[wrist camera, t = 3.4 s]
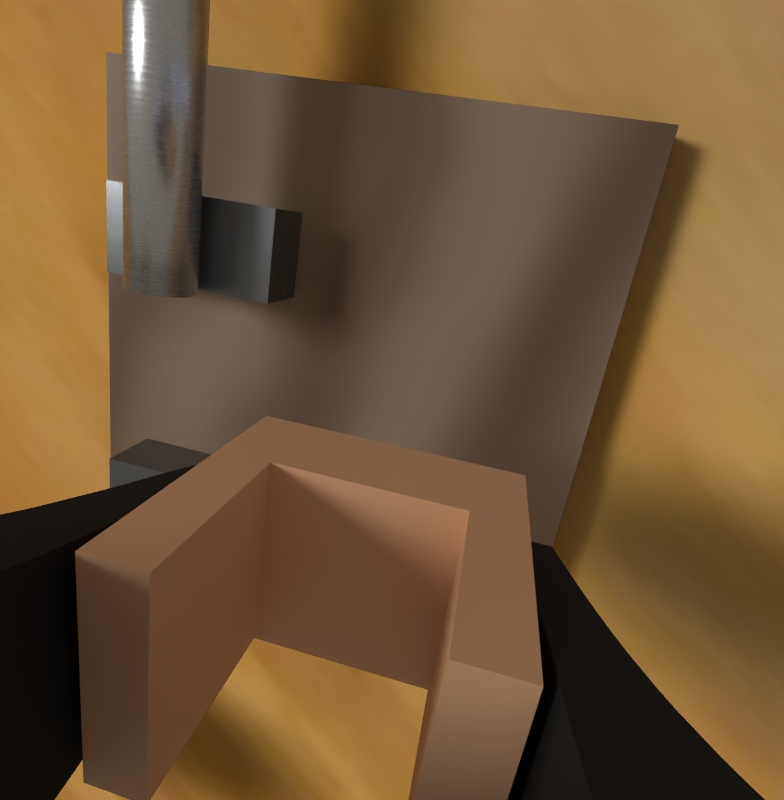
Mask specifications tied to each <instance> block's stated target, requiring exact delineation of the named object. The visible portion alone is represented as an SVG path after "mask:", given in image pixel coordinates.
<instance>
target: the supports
mask: <svg viewBox="0 0 784 800" xmlns="http://www.w3.org/2000/svg"><path fill="white" fill-rule="evenodd" d="M106 185H107V272H110V273H115V274H120V275H123V183H122V182H116V181H110V180H106ZM301 222H302V213H301V212H295V211H289V210H283V209H277V208H271V207H265V206H259V205H253V204H247V203H241V202H235V201H229V200H223V199H217V198H211V197H206V196H202V206H201V230H200V254H199V277H198V290H201V291H206V292H211V293H216V294H221V295H226V296H231V297H236V298H241V299H246V300H251V301H256V302H261V303H266V304H269V303H273V302H277V301H281V300H285V299H289V298H293V297H294V292H295V282H296V272H297V262H298V252H299V242H300V232H301ZM210 455H212V454H208V453H204V452H200V451H196V450H192V449H188V448H184V447H180V446H176V445H172V444H168V443H164V442H160V441H156V440H152V439H148V438H147V439H145V440H143V441H141V442H140V443H138V444H136V445H134V446H132V447H130V448H128V449H126V450H125V451H123V452H121V453H119V454H117V455H115V456H113V457H111V458H110V488H113V487H116V486H120V485H124V484H127V483H131V482H134V481H138V480H141V479H145V478H148V477H152V476H155V475H159V474H163V473H166V472H170V471H173V470H177V469H181V468H185V467H189V466H193V465H197V464H199V463H200V462H202V461H203V460H205V459H206V458H208V457H209V456H210Z"/></svg>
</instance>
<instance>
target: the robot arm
mask: <svg viewBox="0 0 784 800" xmlns="http://www.w3.org/2000/svg"><path fill="white" fill-rule="evenodd" d="M197 465H198V464H197ZM195 466H196V465H193V466H189V467H185V468H181V469H177V470H173V471H170V472H166V473H163V474H159V475H155V476H152V477H148V478H145V479H141V480H138V481H134V482H131V483H127V484H124V485H120V486H116V487H113V488H109V489H106V490H102V491H98V492H94V493H90V494H86V495H82V496H78V497H74V498H70V499H66V500H62V501H58V502H54V503H50V504H46V505H42V506H38V507H34V508H30V509H25V510H21V511H16V512H11V513H6V514H1V515H0V800H55V798H56V797H57V795H58V794H59V792H60V791H61V790H62V788H63V787H64V785H65V784H66V782H67V781H68V780H69V778H70V777H71V775H72V774H73V772H74V771H75V770H76V768H77V767H78V765H79V764H80V762H81V761H82V760H83V751H82V725H81V698H80V671H79V645H78V618H77V591H76V565H75V551H76V550H78V549H79V548H80V547H82V546H83V545H85V544H86V543H88V542H89V541H90V540H92V539H93V538H95V537H96V536H97V535H99V534H100V533H102V532H103V531H104V530H106V529H107V528H109V527H110V526H112V525H113V524H114V523H116V522H117V521H119V520H120V519H121V518H123V517H124V516H126V515H127V514H128V513H130V512H131V511H133V510H134V509H136V508H137V507H138V506H140V505H141V504H143V503H144V502H145V501H147V500H148V499H150V498H151V497H152V496H154V495H155V494H157V493H158V492H160V491H161V490H162V489H164V488H165V487H167V486H168V485H169V484H171V483H172V482H174V481H175V480H176V479H178V478H179V477H181V476H182V475H184V474H185V473H186V472H188V471H189V470H191V469H192V468H193V467H195ZM531 546H532V558H533V569H534V581H535V593H536V604H537V616H538V628H539V639H540V651H541V663H542V674H543V686H544V687H543V690H542V693H541V696H540V699H539V702H538V706H537V709H536V712H535V715H534V718H533V721H532V724H531V727H530V731H529V734H528V737H527V740H526V743H525V746H524V749H523V752H522V756H521V759H520V762H519V765H518V768H517V771H516V774H515V777H514V781H513V784H512V787H511V790H510V793H509V796H508V799H507V800H765V799H764V798H763V797H762V796H760V795H759V794H758V793H757V792H756V791H755V790H754V789H753V788H752V787H751V786H750V785H749V784H748V783H747V782H746V781H745V780H744V779H743V778H742V777H741V776H740V775H739V774H738V773H737V772H735V771H734V770H733V769H732V768H731V767H730V766H729V765H728V764H727V763H726V762H725V761H724V760H723V759H722V758H721V757H720V756H719V755H718V754H717V753H716V751H715V750H714V749H713V748H712V747H711V746H710V745H709V744H708V743H707V742H706V741H705V740H704V739H703V738H702V737H701V736H700V735H699V734H698V733H697V731H696V730H695V729H694V728H693V727H692V726H691V725H690V724H689V723H688V722H687V721H686V720H685V719H684V718H683V717H682V716H681V715H680V714H679V712H678V711H677V710H676V709H675V708H674V707H673V706H672V705H671V704H670V702H669V701H668V700H667V699H666V698H665V697H664V696H663V695H662V693H661V692H660V691H659V690H658V689H657V688H656V687H655V685H654V684H653V683H652V682H651V681H650V679H649V678H648V677H647V676H646V675H645V673H644V672H643V671H642V670H641V668H640V667H639V666H638V665H637V664H636V662H635V661H634V660H633V659H632V658H631V656H630V655H629V654H628V653H627V651H626V650H625V649H624V648H623V646H622V645H621V644H620V642H619V641H618V640H617V639H616V637H615V636H614V635H613V633H612V632H611V631H610V629H609V628H608V627H607V625H606V624H605V623H604V621H603V620H602V619H601V617H600V616H599V615H598V613H597V612H596V610H595V609H594V608H593V606H592V605H591V603H590V602H589V601H588V599H587V598H586V596H585V595H584V594H583V592H582V591H581V589H580V588H579V586H578V585H577V583H576V582H575V580H574V579H573V577H572V576H571V574H570V573H569V572H568V570H567V569H566V567H565V566H564V564H563V563H562V561H561V560H560V558H559V557H558V555H557V554H556V552H555V551H554V549H553V548H552V547H551V546H548V545H544V544H540V543H536V542H532V541H531Z"/></svg>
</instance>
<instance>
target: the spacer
mask: <svg viewBox="0 0 784 800" xmlns="http://www.w3.org/2000/svg"><path fill="white" fill-rule="evenodd" d="M75 565H76V591H77V618H78V645H79V671H80V698H81V725H82V751H83V778H84V783H87V784H89V785H92V786H95V787H98V788H100V789H103V790H106V791H109V792H111V793H114V794H117V795H120V796H122V797H125V798H128V799H131V800H150V799H151V797H152V796H153V794H154V793H155V791H156V790H157V788H158V787H159V785H160V783H161V782H162V780H163V779H164V777H165V776H166V774H167V773H168V771H169V769H170V768H171V766H172V765H173V763H174V762H175V760H176V759H177V757H178V755H179V754H180V752H181V751H182V749H183V748H184V746H185V745H186V743H187V741H188V740H189V738H190V737H191V735H192V734H193V732H194V731H195V729H196V727H197V726H198V724H199V723H200V721H201V720H202V718H203V717H204V715H205V713H206V712H207V710H208V709H209V707H210V706H211V704H212V703H213V701H214V699H215V698H216V696H217V695H218V693H219V692H220V690H221V689H222V687H223V685H224V684H225V682H226V681H227V679H228V678H229V676H230V675H231V673H232V671H233V670H234V668H235V667H236V665H237V664H238V662H239V661H240V659H241V657H242V656H243V654H244V653H245V651H246V650H247V648H248V647H249V645H250V643H251V642H252V640H253V639H254V638H257V639H260V640H264V641H267V642H270V643H274V644H277V645H280V646H284V647H287V648H290V649H294V650H297V651H300V652H304V653H307V654H310V655H314V656H317V657H320V658H324V659H327V660H330V661H334V662H337V663H340V664H344V665H347V666H350V667H354V668H357V669H360V670H364V671H367V672H370V673H374V674H377V675H381V676H384V677H387V678H391V679H394V680H397V681H401V682H404V683H407V684H411V685H414V686H417V687H421V688H424V689H427V690H428V693H427V698H426V704H425V710H424V715H423V721H422V727H421V733H420V738H419V744H418V750H417V755H416V761H415V767H414V772H413V778H412V784H411V789H410V795H409V800H507V799H508V796H509V793H510V790H511V787H512V784H513V781H514V777H515V774H516V771H517V768H518V765H519V762H520V759H521V756H522V752H523V749H524V746H525V743H526V740H527V737H528V734H529V731H530V727H531V724H532V721H533V718H534V715H535V712H536V709H537V706H538V702H539V699H540V696H541V693H542V690H543V687H544V686H543V674H542V663H541V651H540V639H539V628H538V616H537V604H536V593H535V581H534V569H533V558H532V546H531V534H530V522H529V511H528V499H527V487H526V476H525V475H522V474H517V473H513V472H509V471H504V470H500V469H496V468H491V467H487V466H483V465H478V464H474V463H470V462H465V461H461V460H457V459H452V458H448V457H444V456H439V455H435V454H431V453H426V452H422V451H418V450H413V449H409V448H405V447H400V446H396V445H392V444H387V443H383V442H378V441H374V440H370V439H365V438H361V437H357V436H352V435H348V434H344V433H339V432H335V431H331V430H326V429H322V428H318V427H313V426H309V425H305V424H300V423H296V422H292V421H287V420H283V419H279V418H274V417H270V416H265V417H264V418H263V419H261V420H260V421H258V422H257V423H256V424H254V425H253V426H251V427H250V428H249V429H247V430H246V431H244V432H243V433H241V434H240V435H239V436H237V437H236V438H234V439H233V440H232V441H230V442H229V443H227V444H226V445H224V446H223V447H222V448H220V449H219V450H217V451H216V452H215V453H213V454H212V455H210V456H209V457H208V458H206V459H205V460H203V461H202V462H200V463H199V464H198V465H196V466H195V467H193V468H192V469H191V470H189V471H188V472H186V473H185V474H184V475H182V476H181V477H179V478H178V479H176V480H175V481H174V482H172V483H171V484H169V485H168V486H167V487H165V488H164V489H162V490H161V491H160V492H158V493H157V494H155V495H154V496H152V497H151V498H150V499H148V500H147V501H145V502H144V503H143V504H141V505H140V506H138V507H137V508H136V509H134V510H133V511H131V512H130V513H128V514H127V515H126V516H124V517H123V518H121V519H120V520H119V521H117V522H116V523H114V524H113V525H112V526H110V527H109V528H107V529H106V530H104V531H103V532H102V533H100V534H99V535H97V536H96V537H95V538H93V539H92V540H90V541H89V542H88V543H86V544H85V545H83V546H82V547H80V548H79V549H78V550H76V551H75Z"/></svg>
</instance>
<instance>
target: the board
mask: <svg viewBox="0 0 784 800" xmlns="http://www.w3.org/2000/svg"><path fill="white" fill-rule="evenodd" d="M106 57H107V150H108V180H110V181H116V182H122V183H123V112H122V54H115V53H107V52H106ZM678 126H679V125H674V124H666V123H659V122H651V121H643V120H635V119H627V118H619V117H611V116H603V115H595V114H588V113H580V112H572V111H564V110H556V109H548V108H540V107H532V106H524V105H517V104H509V103H501V102H493V101H485V100H477V99H469V98H461V97H454V96H446V95H438V94H430V93H422V92H414V91H406V90H398V89H390V88H383V87H375V86H367V85H359V84H351V83H343V82H335V81H327V80H319V79H312V78H304V77H296V76H288V75H280V74H272V73H264V72H256V71H249V70H241V69H233V68H225V67H217V66H209V65H207V87H206V111H205V135H204V158H203V182H202V196H206V197H211V198H217V199H223V200H229V201H235V202H241V203H247V204H253V205H259V206H265V207H271V208H277V209H283V210H289V211H295V212H301V213H302V222H301V232H300V242H299V252H298V262H297V272H296V282H295V292H294V297H293V298H289V299H285V300H281V301H277V302H273V303H269V304H266V303H261V302H256V301H251V300H246V299H241V298H236V297H231V296H226V295H221V294H216V293H211V292H206V291H201V290H198V295H197V296H194V297H183V298H177V297H160V296H151V295H145V294H139V293H134V292H131V291H128V290H125V289H124V288H123V275H120V274H115V273H110V272H109V336H110V429H111V457H113V456H115V455H117V454H119V453H121V452H123V451H125V450H126V449H128V448H130V447H132V446H134V445H136V444H138V443H140V442H141V441H143V440H145V439H147V438H148V439H152V440H156V441H160V442H164V443H168V444H172V445H176V446H180V447H184V448H188V449H192V450H196V451H200V452H204V453H208V454H213V453H215V452H216V451H217V450H219V449H220V448H222V447H223V446H224V445H226V444H227V443H229V442H230V441H232V440H233V439H234V438H236V437H237V436H239V435H240V434H241V433H243V432H244V431H246V430H247V429H249V428H250V427H251V426H253V425H254V424H256V423H257V422H258V421H260V420H261V419H263V418H264V417H265V416H270V417H274V418H279V419H283V420H287V421H292V422H296V423H300V424H305V425H309V426H313V427H318V428H322V429H326V430H331V431H335V432H339V433H344V434H348V435H352V436H357V437H361V438H365V439H370V440H374V441H378V442H383V443H387V444H392V445H396V446H400V447H405V448H409V449H413V450H418V451H422V452H426V453H431V454H435V455H439V456H444V457H448V458H452V459H457V460H461V461H465V462H470V463H474V464H478V465H483V466H487V467H491V468H496V469H500V470H504V471H509V472H513V473H517V474H522V475H525V476H526V487H527V499H528V511H529V522H530V534H531V541H532V542H536V543H540V544H544V545H548V546H551V547H552V548H553V545H554V542H555V539H556V535H557V532H558V528H559V525H560V522H561V518H562V515H563V512H564V508H565V505H566V502H567V498H568V495H569V492H570V488H571V485H572V482H573V478H574V475H575V471H576V468H577V465H578V461H579V458H580V455H581V451H582V448H583V445H584V441H585V438H586V435H587V431H588V428H589V424H590V421H591V418H592V414H593V411H594V408H595V404H596V401H597V398H598V394H599V391H600V388H601V384H602V381H603V377H604V374H605V371H606V367H607V364H608V361H609V357H610V354H611V351H612V347H613V344H614V341H615V337H616V334H617V331H618V327H619V324H620V320H621V317H622V314H623V310H624V307H625V304H626V300H627V297H628V294H629V290H630V287H631V284H632V280H633V277H634V273H635V270H636V267H637V263H638V260H639V257H640V253H641V250H642V247H643V243H644V240H645V237H646V233H647V230H648V226H649V223H650V220H651V216H652V213H653V210H654V206H655V203H656V200H657V196H658V193H659V190H660V186H661V183H662V179H663V176H664V173H665V169H666V166H667V163H668V159H669V156H670V153H671V149H672V146H673V143H674V139H675V136H676V133H677V129H678Z"/></svg>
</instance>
